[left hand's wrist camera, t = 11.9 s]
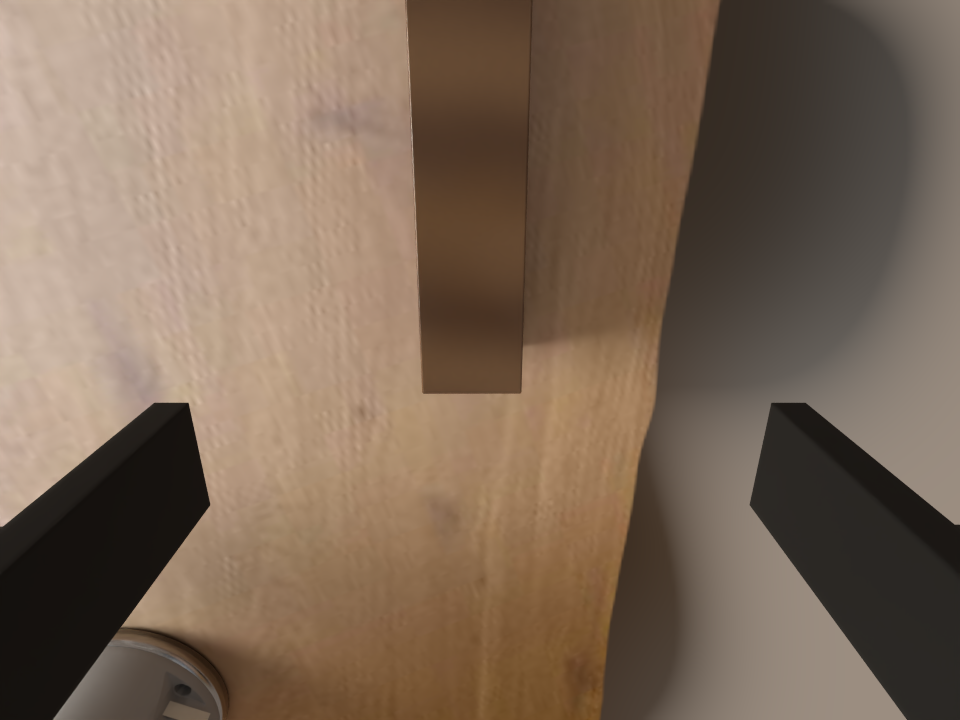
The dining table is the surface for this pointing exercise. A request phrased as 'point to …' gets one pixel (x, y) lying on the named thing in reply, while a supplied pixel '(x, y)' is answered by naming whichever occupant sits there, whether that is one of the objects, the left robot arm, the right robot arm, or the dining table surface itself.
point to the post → (470, 188)
